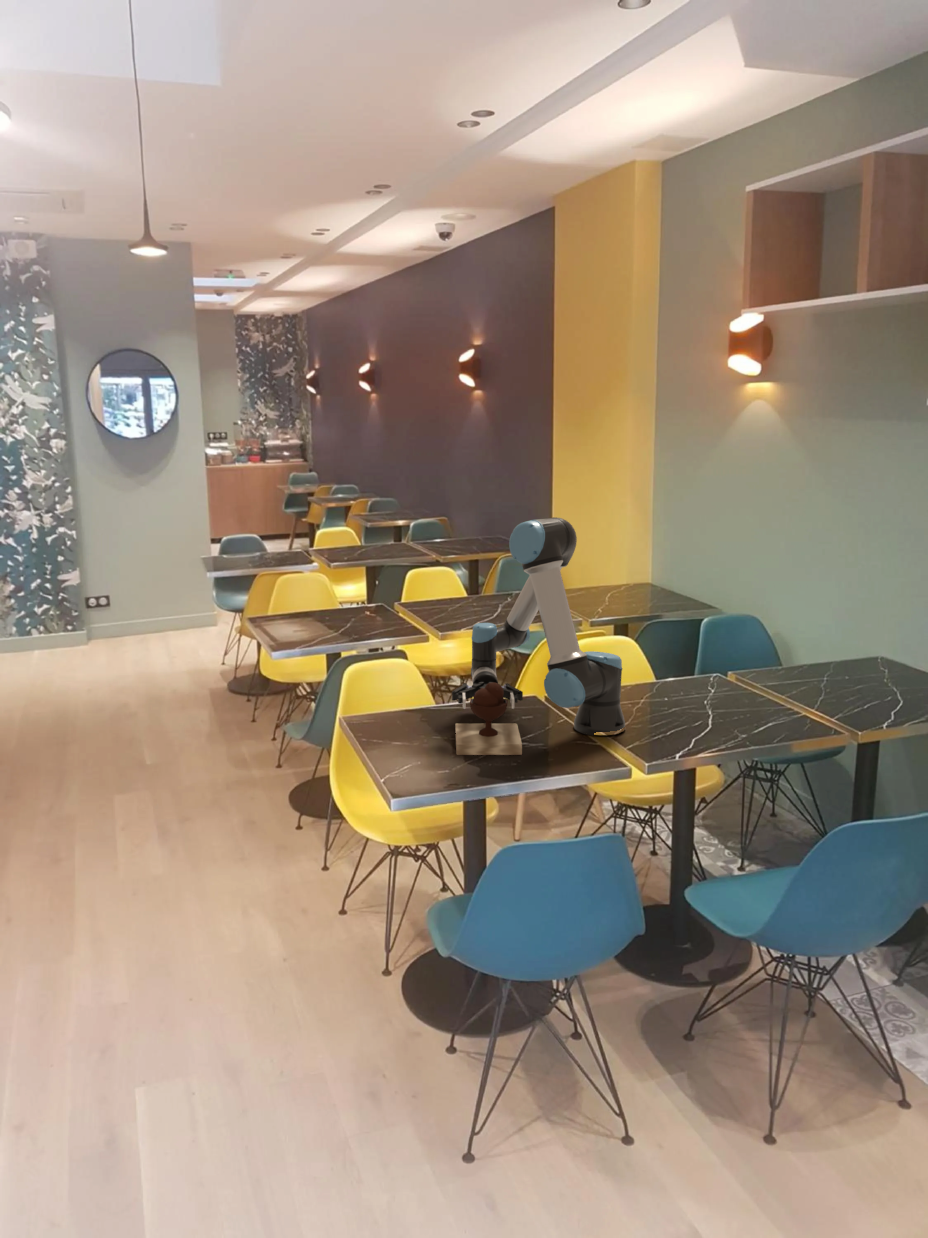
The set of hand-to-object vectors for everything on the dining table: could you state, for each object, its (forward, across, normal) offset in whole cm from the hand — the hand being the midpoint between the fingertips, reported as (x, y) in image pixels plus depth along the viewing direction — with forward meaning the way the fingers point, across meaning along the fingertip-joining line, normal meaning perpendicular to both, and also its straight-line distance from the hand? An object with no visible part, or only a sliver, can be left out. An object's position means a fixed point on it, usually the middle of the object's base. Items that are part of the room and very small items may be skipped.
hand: (488, 704), depth 273 cm
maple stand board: (-3, 0, -13) cm, 13 cm away
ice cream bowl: (-3, 0, -10) cm, 11 cm away
